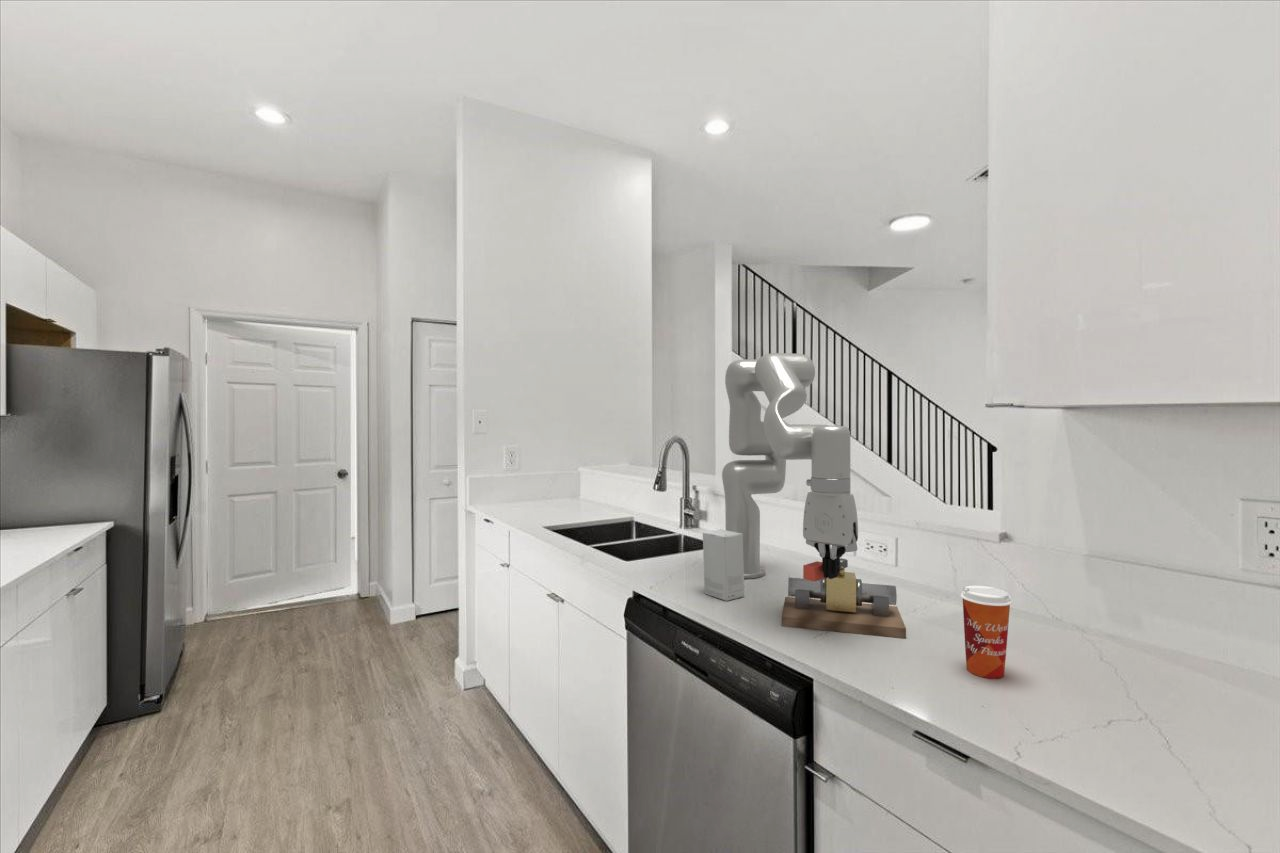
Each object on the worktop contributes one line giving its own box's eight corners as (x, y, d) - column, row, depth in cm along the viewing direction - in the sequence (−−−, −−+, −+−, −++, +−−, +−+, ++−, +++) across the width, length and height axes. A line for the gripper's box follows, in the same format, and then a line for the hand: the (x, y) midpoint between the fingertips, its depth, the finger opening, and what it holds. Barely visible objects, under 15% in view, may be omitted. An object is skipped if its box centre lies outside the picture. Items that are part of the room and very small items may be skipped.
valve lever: (838, 567, 130) (838, 554, 130) (850, 569, 128) (850, 556, 128) (802, 578, 121) (803, 565, 121) (815, 581, 119) (815, 567, 119)
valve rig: (781, 625, 124) (781, 573, 124) (785, 605, 137) (785, 558, 137) (905, 638, 117) (906, 583, 117) (896, 615, 130) (897, 565, 130)
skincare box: (745, 597, 143) (745, 533, 143) (724, 602, 140) (725, 536, 139) (721, 589, 150) (721, 528, 150) (701, 593, 147) (701, 530, 146)
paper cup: (963, 677, 100) (964, 595, 99) (956, 659, 107) (957, 582, 106) (1017, 684, 97) (1018, 600, 97) (1006, 666, 104) (1007, 587, 104)
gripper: (788, 485, 122) (788, 573, 122) (857, 491, 111) (857, 588, 111) (807, 482, 127) (807, 567, 127) (875, 488, 117) (875, 580, 117)
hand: (830, 577), depth 119 cm, fingers closed
